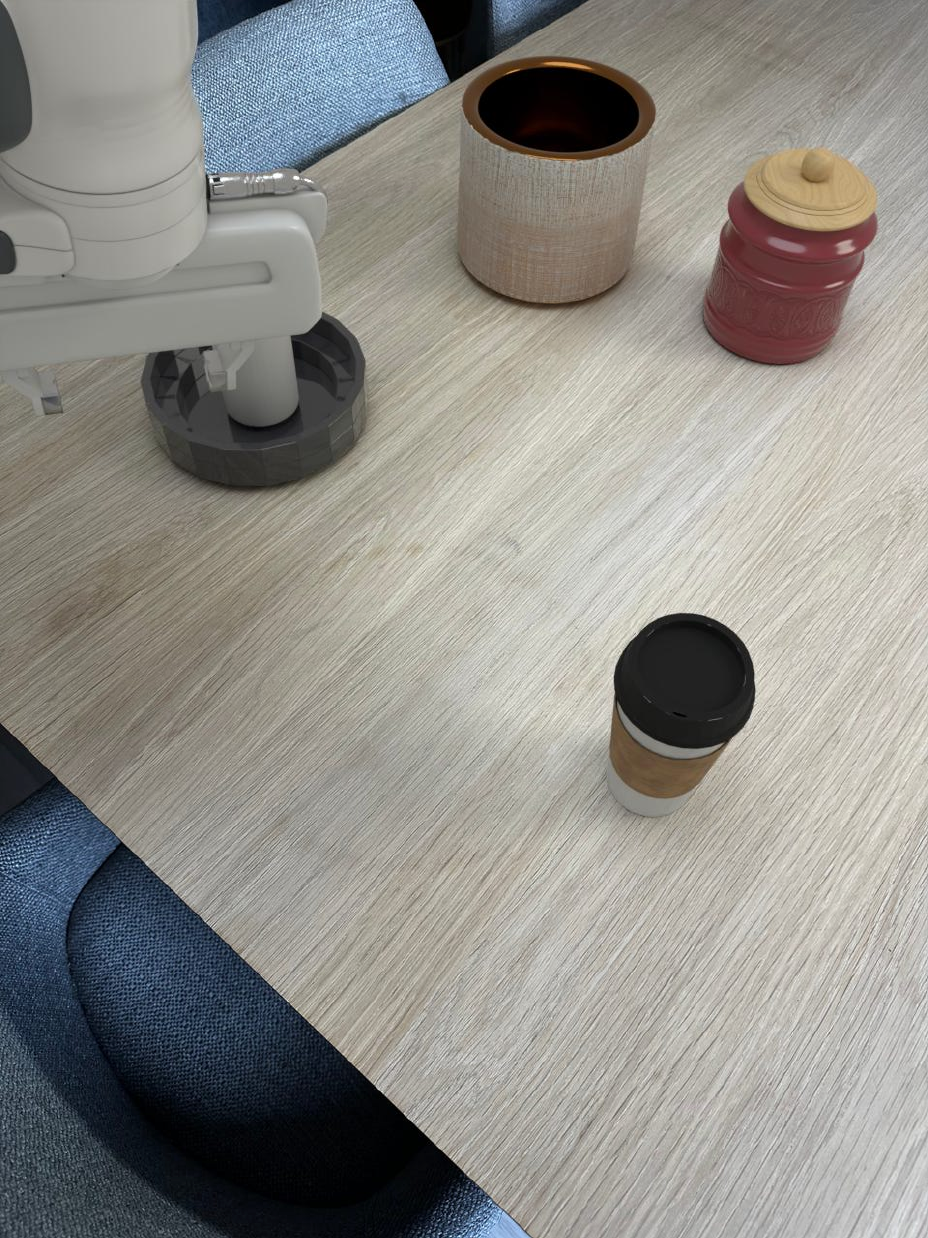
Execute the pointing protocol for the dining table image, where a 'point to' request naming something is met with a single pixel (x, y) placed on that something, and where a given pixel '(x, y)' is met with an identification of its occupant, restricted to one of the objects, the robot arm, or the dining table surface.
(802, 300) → the kitchen canister
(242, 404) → the beverage can
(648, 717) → the coffee cup
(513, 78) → the planter
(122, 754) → the dining table surface
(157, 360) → the grey shallow round dish
